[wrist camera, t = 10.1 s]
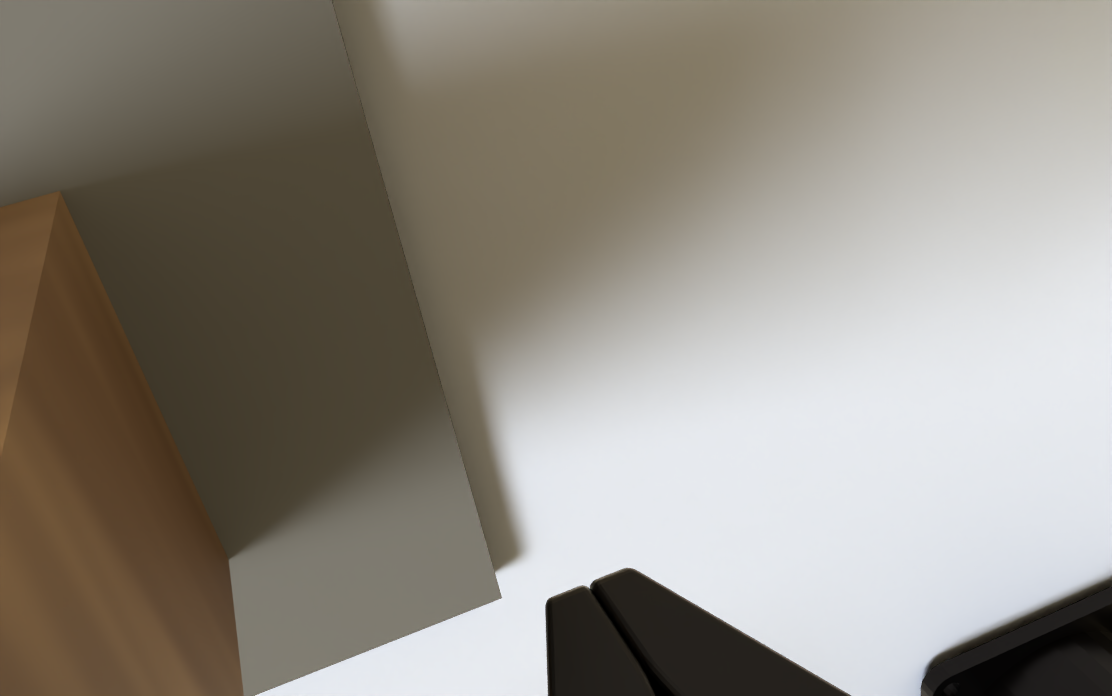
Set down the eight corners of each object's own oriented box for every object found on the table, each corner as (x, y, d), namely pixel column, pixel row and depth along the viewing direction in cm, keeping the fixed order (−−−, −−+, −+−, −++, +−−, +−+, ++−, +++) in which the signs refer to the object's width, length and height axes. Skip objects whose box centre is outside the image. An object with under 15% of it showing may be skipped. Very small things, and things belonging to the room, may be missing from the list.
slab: (59, 190, 12) (-74, 798, 5) (228, 559, 15) (309, 1281, 8) (-155, 250, 12) (-686, 1031, 4) (64, 619, 15) (-19, 1450, 7)
